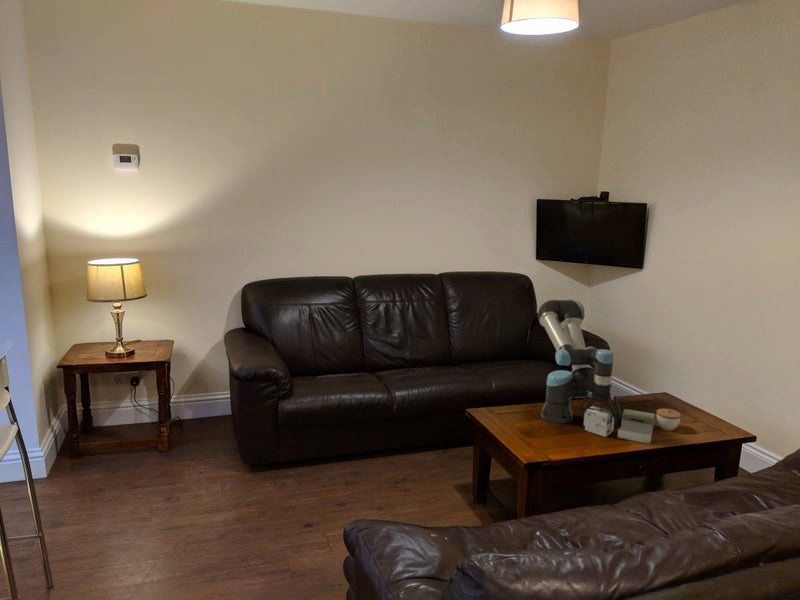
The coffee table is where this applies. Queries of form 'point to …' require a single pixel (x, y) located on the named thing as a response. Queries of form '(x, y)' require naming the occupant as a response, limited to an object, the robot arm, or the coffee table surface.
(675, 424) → the lidded jar
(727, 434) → the coffee table surface
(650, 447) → the coffee table surface
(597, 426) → the light bulb box
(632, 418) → the olive green block
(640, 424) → the chute
